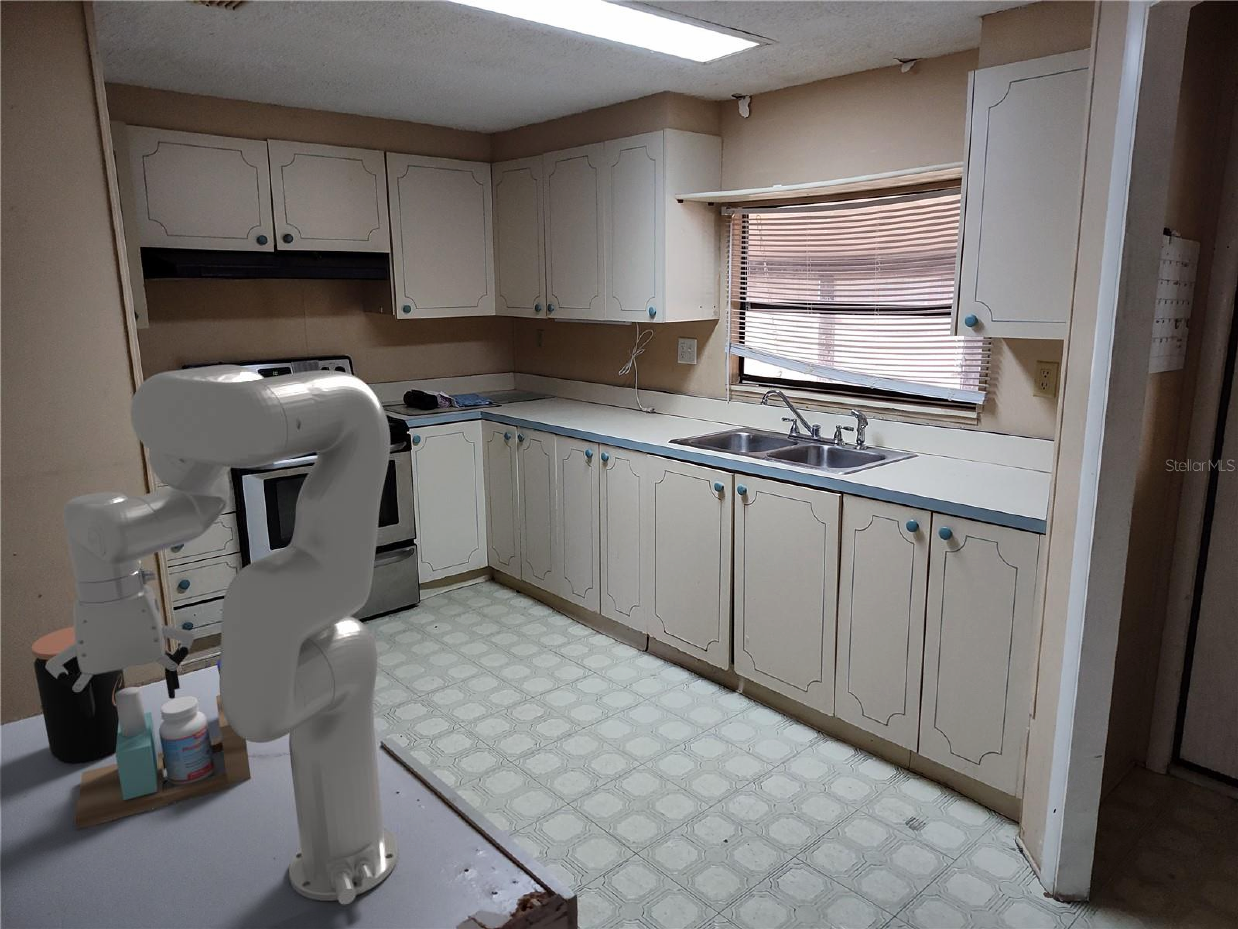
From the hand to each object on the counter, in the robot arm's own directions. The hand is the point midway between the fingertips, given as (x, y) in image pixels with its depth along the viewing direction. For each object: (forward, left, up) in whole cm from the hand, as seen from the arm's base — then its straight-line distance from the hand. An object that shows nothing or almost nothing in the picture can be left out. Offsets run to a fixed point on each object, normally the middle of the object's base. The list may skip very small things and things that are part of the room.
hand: (132, 704), depth 113 cm
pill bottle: (0, -6, -13) cm, 15 cm away
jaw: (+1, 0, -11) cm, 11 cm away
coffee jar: (+17, +7, -13) cm, 23 cm away
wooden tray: (+1, -3, -13) cm, 13 cm away
